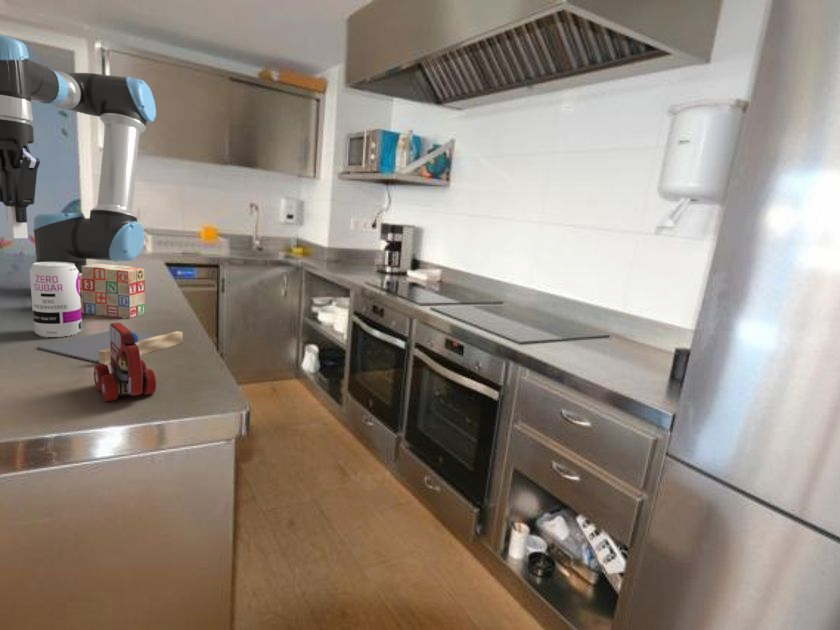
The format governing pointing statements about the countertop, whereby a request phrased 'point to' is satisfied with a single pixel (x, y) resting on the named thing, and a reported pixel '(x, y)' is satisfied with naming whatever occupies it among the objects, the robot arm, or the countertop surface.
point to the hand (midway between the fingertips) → (18, 237)
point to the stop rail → (147, 345)
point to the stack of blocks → (112, 290)
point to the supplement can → (55, 299)
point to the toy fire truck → (124, 367)
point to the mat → (86, 345)
